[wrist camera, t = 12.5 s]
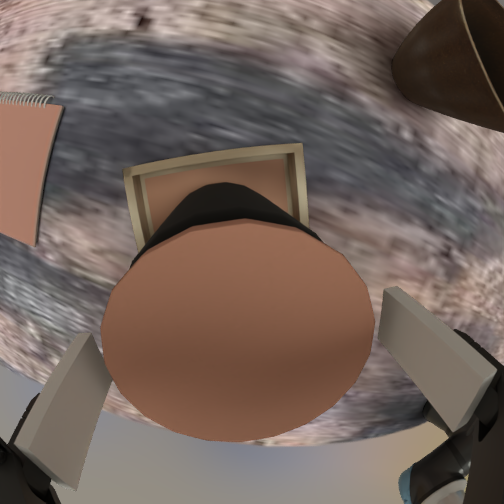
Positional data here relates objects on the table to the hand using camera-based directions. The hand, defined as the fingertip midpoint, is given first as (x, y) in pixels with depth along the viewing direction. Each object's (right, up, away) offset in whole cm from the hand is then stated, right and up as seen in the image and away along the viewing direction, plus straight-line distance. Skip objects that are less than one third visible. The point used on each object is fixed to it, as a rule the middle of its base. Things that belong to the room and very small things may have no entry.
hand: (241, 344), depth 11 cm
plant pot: (+20, +25, +13) cm, 35 cm away
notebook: (-34, +17, +9) cm, 39 cm away
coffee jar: (-2, +5, +15) cm, 17 cm away
